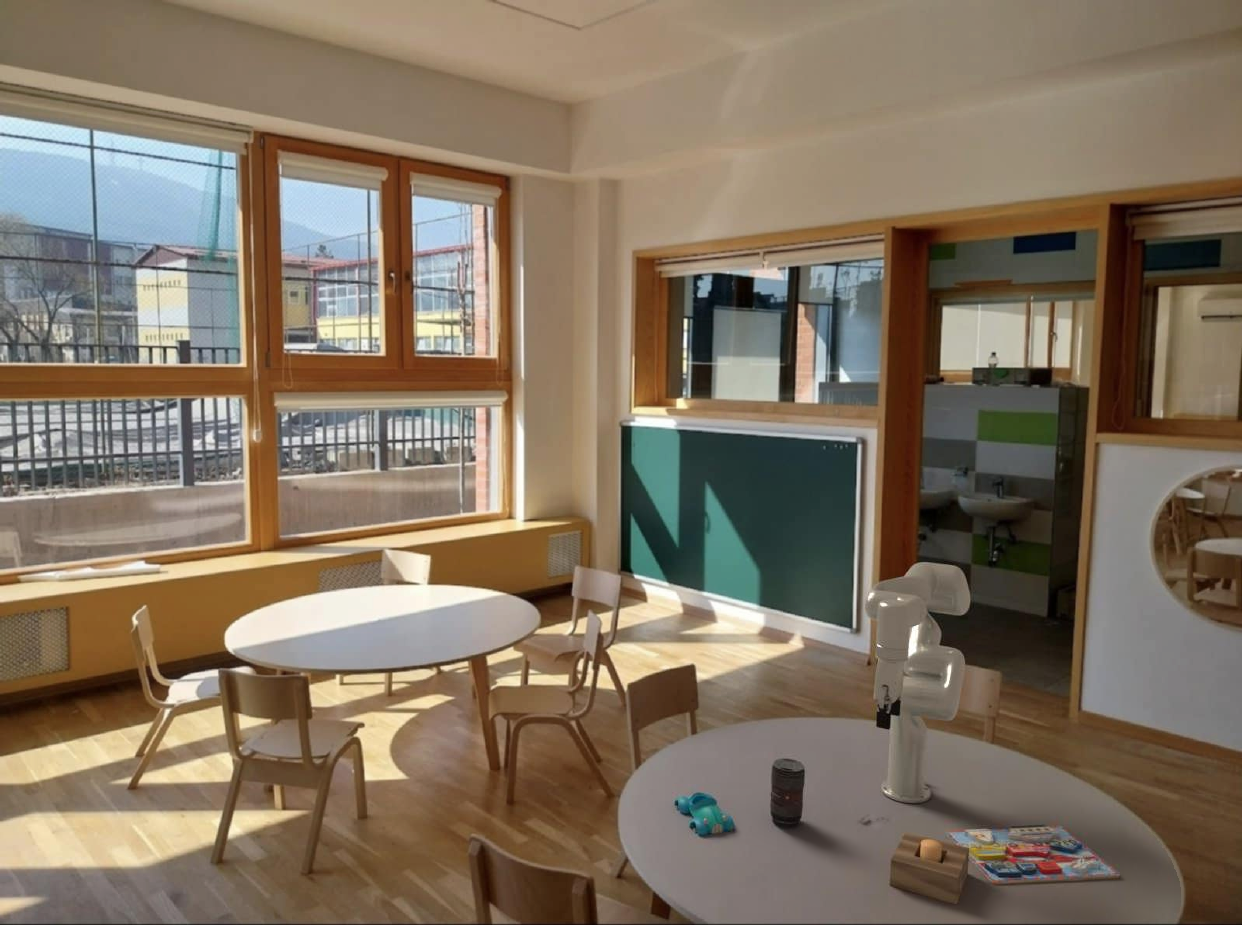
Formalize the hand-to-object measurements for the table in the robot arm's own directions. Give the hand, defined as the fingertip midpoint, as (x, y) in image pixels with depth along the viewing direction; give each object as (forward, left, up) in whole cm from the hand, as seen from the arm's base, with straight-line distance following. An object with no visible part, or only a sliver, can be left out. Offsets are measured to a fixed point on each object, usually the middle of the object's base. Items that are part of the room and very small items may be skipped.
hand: (888, 721), depth 222 cm
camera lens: (+7, -22, -28) cm, 37 cm away
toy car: (+15, -41, -29) cm, 52 cm away
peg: (+15, +14, -28) cm, 35 cm away
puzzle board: (-8, +32, -29) cm, 44 cm away
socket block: (+15, +14, -28) cm, 35 cm away
